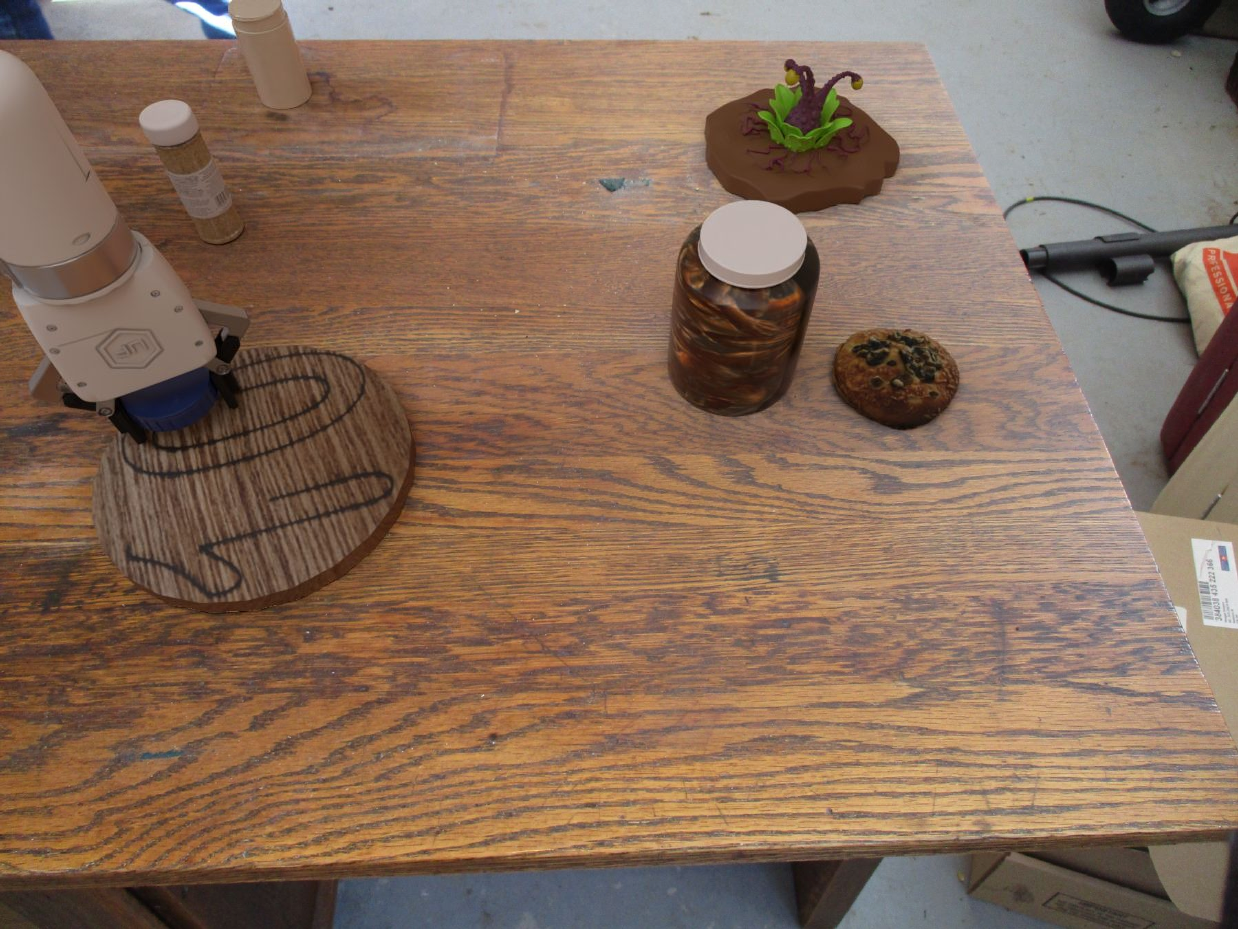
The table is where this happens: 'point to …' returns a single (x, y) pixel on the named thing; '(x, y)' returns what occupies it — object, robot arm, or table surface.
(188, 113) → the spice bottle
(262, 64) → the beige cylindrical container
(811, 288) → the jar
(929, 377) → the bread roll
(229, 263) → the table surface
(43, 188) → the robot arm
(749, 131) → the plant
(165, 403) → the lid
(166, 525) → the trivet
